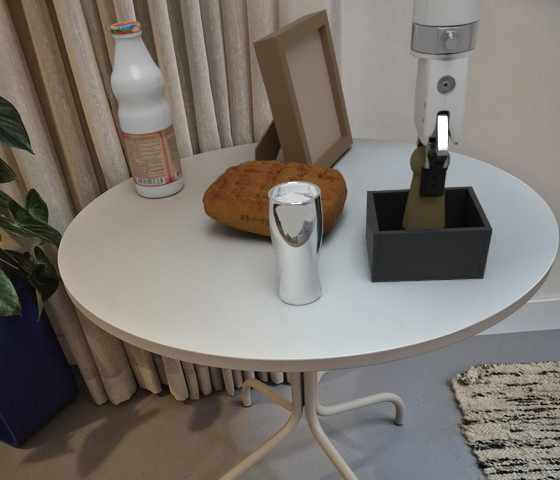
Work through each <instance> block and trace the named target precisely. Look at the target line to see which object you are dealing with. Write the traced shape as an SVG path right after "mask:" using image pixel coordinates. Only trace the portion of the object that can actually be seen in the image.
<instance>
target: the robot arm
mask: <svg viewBox="0 0 560 480" xmlns="http://www.w3.org/2000/svg"><path fill="white" fill-rule="evenodd" d="M482 4H483V0H413V4H412V17H411V18H412V20H411V33H410V47H409V54H410V55H411V56H412V57H414V58H418V60H417V69H416V77H415V78H416V80H415V88H414V89H415V91H414V103H413V105H414V106H413V124H414V127H415V130H416V132H417V138H416V148H418V147H420V146H423V145H425V156H424V167H421V177H420V187H419V196H420V197H422V198H423V197H441V196H443V195H444V188H445V187H446V180H447V171H448V169H447V160H448V152H449V145H450V144H449V143H450V140H451V142H452V144H455V146H459V145H460V143H461V142H462V141H463V133H464V123H465V121H464V120H465V114H466V113H465V112H466V102H467V89H468V74H469V57H470V56H471V55H473V54H475V53H476V46H477V39H478V32H479V26H480V18H481V10H482ZM430 148H436V149H435V152H432V154H431V155H430ZM430 156H431V157H430Z"/></svg>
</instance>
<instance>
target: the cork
mask: <svg viewBox="0 0 560 480" xmlns="http://www.w3.org/2000/svg"><path fill="white" fill-rule="evenodd" d="M435 149H436V148H430V155H431V154H432V152H435ZM424 156H425V145H423V146H420V147H418V148H417V147H416V148H415V149H414V150H413V152H412V153H411V156H410V158H409V166H410V169H411V172H412V177H411V182H410V186H409V189H410V190H409V195H408V199H407V204H406V208H405V213H404V217H403V222H402V226H403V228H404V229H405V230H421V229H443V228H444V226H445V194H444V195H443V196H441V197H423V198H422V197H420V196H419V187H420V177H421V167H424ZM430 157H431V156H430ZM450 164H451V155H450V153H449V151H448V160H447V170H448V169H449V167H450Z"/></svg>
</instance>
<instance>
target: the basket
mask: <svg viewBox="0 0 560 480" xmlns="http://www.w3.org/2000/svg"><path fill="white" fill-rule="evenodd" d="M409 190H410V188H404V189H403V188H401V189H381V190H379V189H378V190H367V191H366V207H365V208H366V209H365V242H366V249H367V257H368V265H369V272H370V280H371V283H389V282H411V281H412V282H416V281H417V282H419V281H444V280H447V281H451V280H477V279H479V280H480V279H484V277H485V272H486V267H487V261H488V257H489V251H490V246H491V241H492V236H493V231H494V230H493V227H492V225H491V222H490V220H489V218H488V217H487V215H486V213H485V210H484V209H483V206H482V204H481V201H480V200H479V198H478V196H477V193H476V192H475V189H474V187H473V186H472V185H469V186H445V188H444V194H445V226H444V228H443V229H421V230H405V229H404V228H403V226H402V222H403V217H404V213H405V208H406V204H407V199H408V195H409Z"/></svg>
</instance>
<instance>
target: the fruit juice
mask: <svg viewBox="0 0 560 480" xmlns="http://www.w3.org/2000/svg"><path fill="white" fill-rule="evenodd" d="M110 34H111V35H112V38H113V39H114V43H115V44H114V59H113V69H112V72H111V76H110V87H111V90H112V93H113V96H114V97H115V99H116V101H117V104H118V109H117V117H118V122H119V128H120V131H121V136H122V139H123V143H124V147H125V152H126V155H127V159H128V164H129V167H130V172H131V175H132V179H133V183H134V188H135V190H136V193H137V194H138V195H139V196H140V197H144V198H148V199H159V198H166V197H170V196H172V195H175V194H176V193H179V192H180V191H182V189H183V188H184V185H185V182H184V175H183V169H182V164H181V159H180V154H179V153H180V152H179V147H178V142H177V137H176V132H175V127H174V120H173V116H172V111H171V107H170V105H169V103H168V102H167V100H166V97H165V88H166V87H165V86H166V83H165V78H164V75H163V72H162V70H161V69H160V67H158V65H157V64H156V62H155V61H154V59H153V58H152V56H151V54H150V52H149V50H148V48H147V46H146V44H145V42H144V41H143V38H142V34H143V32H142V26H141V22H140V21H137V20H128V21H127V20H126V21H119V22H116V23H113V24H111V25H110Z"/></svg>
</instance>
